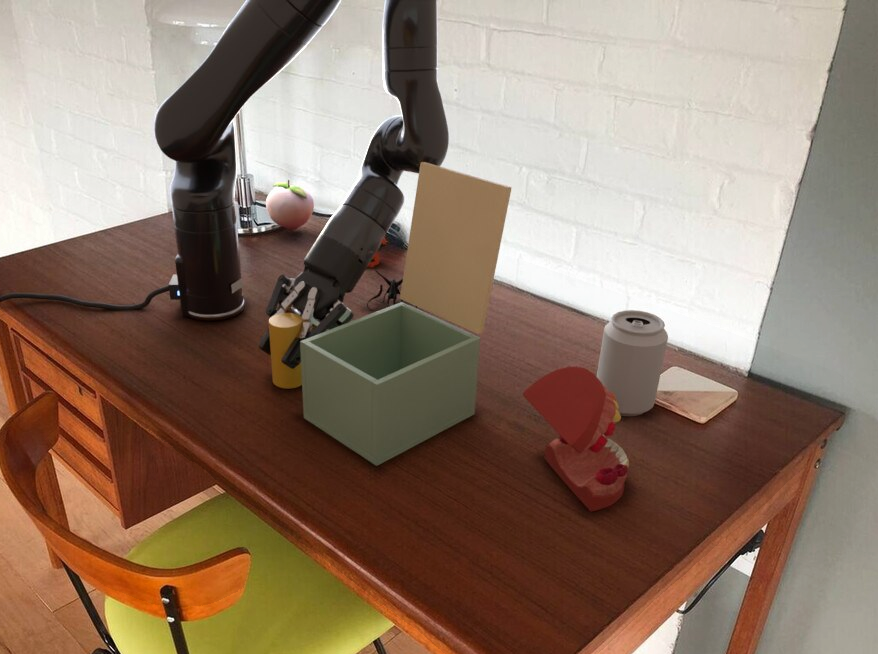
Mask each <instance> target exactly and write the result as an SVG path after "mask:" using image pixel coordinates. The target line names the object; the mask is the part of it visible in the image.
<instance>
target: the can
mask: <svg viewBox="0 0 878 654" xmlns="http://www.w3.org/2000/svg"><path fill="white" fill-rule="evenodd" d="M610 320H611V321H609V322H607V323H606V324H605V327H603V333H602V339H601V340H602V341H601V345H600V353H599V357H598V358H599V359H598V366H597V372H596V377H597V378H598V379H599V380H600V381H601V382H602V384H603V386H605V387H606V388H607V390H608V391H610V392H611V393H613V395H614V396H615V399H616V402H617V404H618V406H619V408H618V412H619V413H620V416H621V417H637V416H641V415H643V414H644V413H646V412H648V411H650V410H652V409H653V408H654V406H655V402H656V399H657V394H658V389H659V385H660V384H659V383H660V380H661V379H660V378H661V374H662V370H663V369H662V368H663V364H664V361H665V355H666V350H667V345H668V339H669V334H668V332H667V331H666V329H665V327H666V326H665V325H666V324H665V321H664V320H663V319H662V318H661V317H660V316H658V315H656V314H654V313H650V312H648V311H644V310H634V309H628V310H621V311H618V312H616V313H613V314H612V316H611V318H610Z"/></svg>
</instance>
